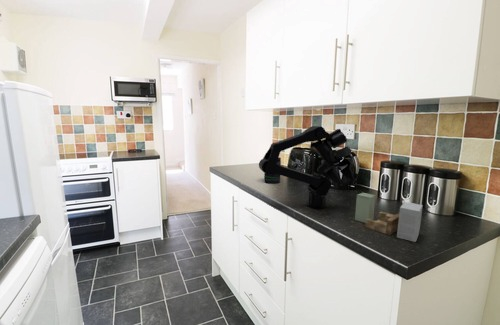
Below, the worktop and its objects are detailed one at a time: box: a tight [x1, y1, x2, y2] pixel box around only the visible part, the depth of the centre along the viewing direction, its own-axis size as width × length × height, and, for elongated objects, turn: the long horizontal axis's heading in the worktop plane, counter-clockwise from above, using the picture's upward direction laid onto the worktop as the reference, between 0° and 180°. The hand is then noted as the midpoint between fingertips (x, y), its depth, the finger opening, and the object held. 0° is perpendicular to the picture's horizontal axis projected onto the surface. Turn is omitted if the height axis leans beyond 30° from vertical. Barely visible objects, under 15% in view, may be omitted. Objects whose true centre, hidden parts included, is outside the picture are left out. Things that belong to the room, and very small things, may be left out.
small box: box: [396, 201, 423, 243], centre depth 86 cm, size 8×6×10 cm
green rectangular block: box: [354, 192, 376, 224], centre depth 99 cm, size 5×5×10 cm
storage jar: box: [263, 156, 282, 185], centre depth 158 cm, size 10×10×15 cm
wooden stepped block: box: [365, 211, 399, 236], centre depth 94 cm, size 8×12×5 cm
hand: (348, 183), depth 103 cm, fingers open, 9 cm apart
